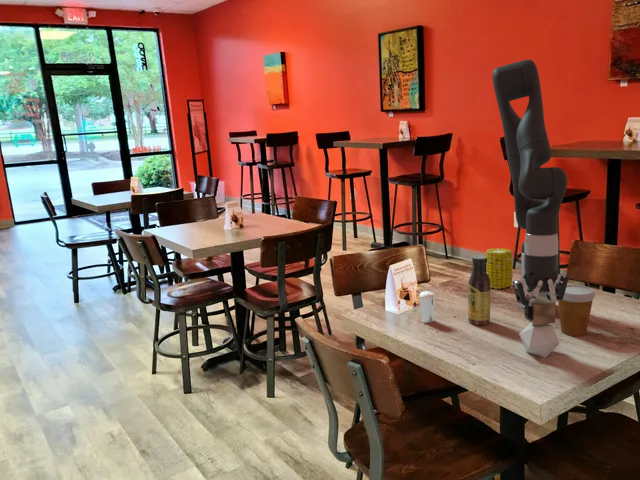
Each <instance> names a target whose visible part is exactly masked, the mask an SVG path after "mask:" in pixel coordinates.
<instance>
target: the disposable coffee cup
mask: <svg viewBox="0 0 640 480" xmlns="http://www.w3.org/2000/svg"><path fill="white" fill-rule="evenodd" d="M595 297H596V294H595V293H594V290H593V288H591V287H589V286H585V285H579V284H567V287H566V290H565V294H564V298H563V299H562V300H558V301H557V304H558V305H557V306H558V313H559V323H560V331H561V333H563V334H564V335H567V336H570V337H571V336H572V337H582V336H585V335H587V333H588V327H589V322H590V316H591V310H592V306H593V302H594V299H595Z"/></svg>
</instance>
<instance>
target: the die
mask: <svg viewBox="0 0 640 480" xmlns="http://www.w3.org/2000/svg"><path fill="white" fill-rule="evenodd" d="M518 334H519V337H520V340H521V342H522V344H523V347H524V349H525V352H526V353H528V354H531V355H535V356H537V357H541V358H543V359H544V358H545V359H546V358H547V357H549V355H550V354H551V353H552V352H553V351H554V350H555V349H556V348H557V347H558V346H559V345H560V344H561V343H560V341H559V338H558V336H557V333H556V331H555V328H554V325H552V324H551V323H549V324H542V325H535V324H533V323H532V322H530V323H529V324H528V325H526V326H525V328H524V329H522V330H521V332H519V333H518Z"/></svg>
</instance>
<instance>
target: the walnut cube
mask: <svg viewBox="0 0 640 480" xmlns="http://www.w3.org/2000/svg"><path fill="white" fill-rule="evenodd" d="M556 305H557V302H556V303H554V302H552V301H551V300H549V299H547V298H545V297H539V298H535V301H534V304H533V320H531V321H530V320H528V319H527V318H526V317H525V316H524V319H525V320H527V321H529V322H530V323H531V322H532V323H533V324H535V325H542V324H553V323H554V324H555V323H556V307H557V306H556ZM555 306H556V307H555Z"/></svg>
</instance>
